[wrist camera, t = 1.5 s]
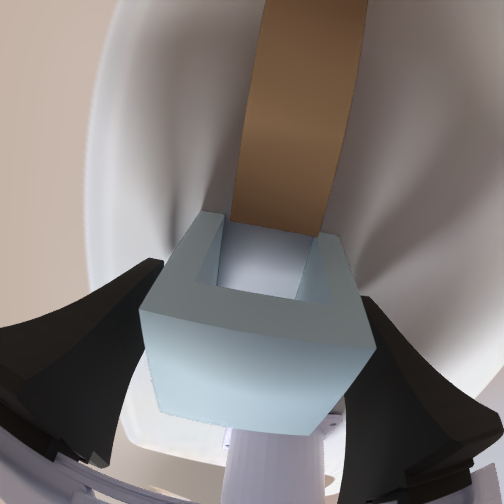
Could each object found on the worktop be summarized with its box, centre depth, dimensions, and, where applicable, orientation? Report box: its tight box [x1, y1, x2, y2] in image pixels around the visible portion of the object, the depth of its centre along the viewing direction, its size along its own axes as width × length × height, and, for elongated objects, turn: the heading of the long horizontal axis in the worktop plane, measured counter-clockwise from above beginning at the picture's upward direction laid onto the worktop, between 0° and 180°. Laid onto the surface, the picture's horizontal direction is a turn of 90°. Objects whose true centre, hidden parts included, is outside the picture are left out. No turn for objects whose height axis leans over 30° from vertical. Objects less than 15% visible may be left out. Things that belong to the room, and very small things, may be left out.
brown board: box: [230, 0, 368, 237], centre depth 5 cm, size 12×2×3 cm, turn 171°
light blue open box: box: [139, 210, 376, 436], centre depth 9 cm, size 5×5×6 cm
